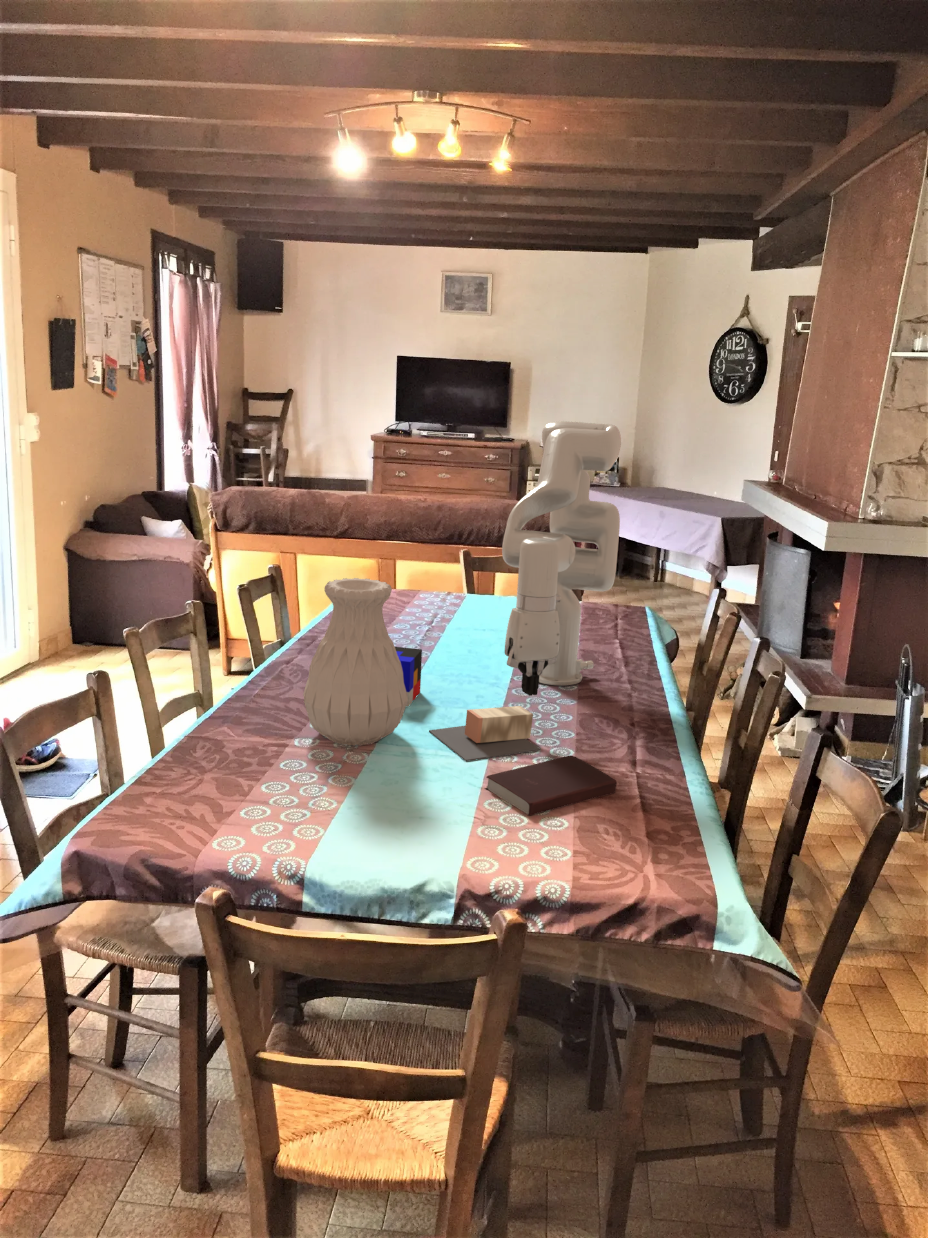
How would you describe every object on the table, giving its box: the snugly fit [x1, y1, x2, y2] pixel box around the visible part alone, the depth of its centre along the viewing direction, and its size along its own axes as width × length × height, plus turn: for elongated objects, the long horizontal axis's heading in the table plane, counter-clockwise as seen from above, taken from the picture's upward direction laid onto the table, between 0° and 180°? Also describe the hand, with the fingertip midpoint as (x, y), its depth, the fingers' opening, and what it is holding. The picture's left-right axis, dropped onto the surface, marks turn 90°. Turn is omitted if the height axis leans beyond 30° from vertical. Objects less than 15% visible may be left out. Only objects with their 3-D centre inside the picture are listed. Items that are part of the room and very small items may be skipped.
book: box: [484, 755, 617, 816], centre depth 167 cm, size 12×19×3 cm, turn 125°
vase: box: [302, 577, 408, 747], centre depth 184 cm, size 20×20×30 cm
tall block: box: [464, 705, 534, 743], centre depth 189 cm, size 5×5×12 cm
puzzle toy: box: [395, 646, 423, 707], centre depth 210 cm, size 10×10×10 cm
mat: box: [428, 724, 541, 762], centre depth 189 cm, size 16×16×1 cm
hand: (529, 693), depth 191 cm, fingers closed
